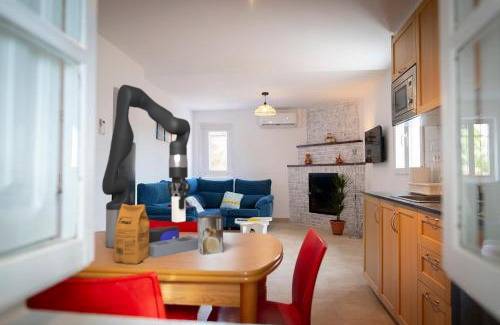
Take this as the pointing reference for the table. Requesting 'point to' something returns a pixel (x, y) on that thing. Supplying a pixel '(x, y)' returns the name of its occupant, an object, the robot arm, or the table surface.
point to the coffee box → (210, 234)
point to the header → (172, 246)
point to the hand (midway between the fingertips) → (178, 208)
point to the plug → (178, 210)
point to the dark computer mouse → (163, 234)
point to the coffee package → (131, 235)
